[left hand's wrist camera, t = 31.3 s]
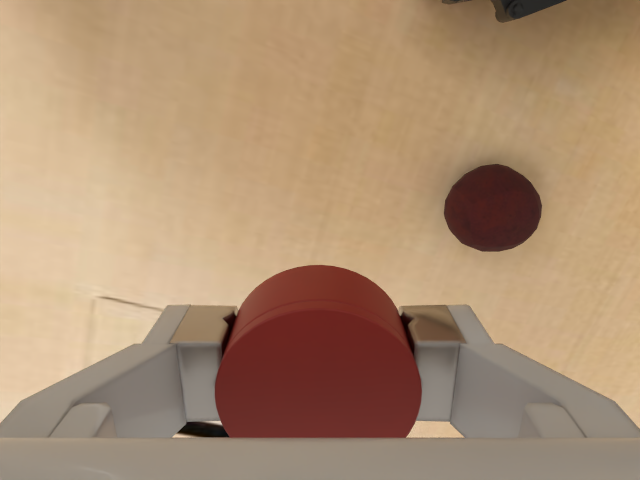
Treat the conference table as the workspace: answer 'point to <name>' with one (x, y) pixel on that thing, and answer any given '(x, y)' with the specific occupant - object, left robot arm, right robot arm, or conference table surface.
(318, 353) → the cap
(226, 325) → the left robot arm
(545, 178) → the conference table surface
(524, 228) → the dark maroon ball
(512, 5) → the right robot arm
